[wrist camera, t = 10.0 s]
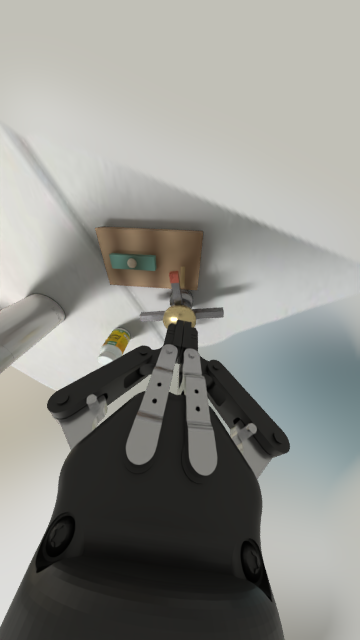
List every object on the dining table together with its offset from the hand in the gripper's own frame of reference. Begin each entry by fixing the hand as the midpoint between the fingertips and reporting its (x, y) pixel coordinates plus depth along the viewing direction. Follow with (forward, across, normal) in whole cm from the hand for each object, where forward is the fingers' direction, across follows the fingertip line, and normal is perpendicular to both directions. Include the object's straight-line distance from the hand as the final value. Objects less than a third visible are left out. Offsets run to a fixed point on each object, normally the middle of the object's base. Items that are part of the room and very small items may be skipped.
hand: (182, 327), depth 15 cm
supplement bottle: (+19, +14, +23) cm, 33 cm away
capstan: (+18, 0, +8) cm, 20 cm away
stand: (+18, +7, 0) cm, 20 cm away
